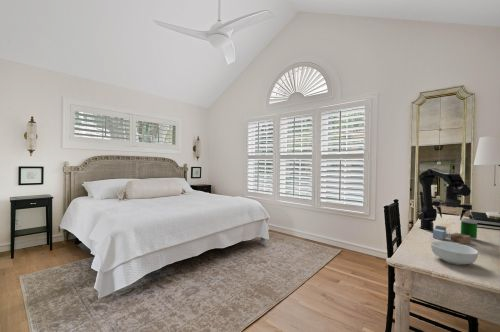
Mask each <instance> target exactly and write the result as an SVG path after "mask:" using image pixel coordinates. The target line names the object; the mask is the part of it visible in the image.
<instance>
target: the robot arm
mask: <svg viewBox="0 0 500 332" xmlns="http://www.w3.org/2000/svg"><path fill="white" fill-rule="evenodd" d="M437 177H438V178H440V179H442V181H444V182H445V183H444V184H443V186H445V200H444V202H442V201H441V200H436V199H435V200H433V195H432V184H433V183H434V179H435V178H437ZM418 182H419V184H420V185H421V186H422V199H423V200H422V201H423V207H422V208H421V212H420V214H419V215H418V216H417V217H418V220H420V226H419V229H422V230H427V231H433V230H434V226H435V225H434V222H436V220H437V216H438V213H439V216H440V218H441V219H442V218H443V212H442V207H443V206H445V207H446V208H447V207H449V208H454V209H455V208H461V213H460V217H459V218H460V219H459V221H461V220H462V219H463V218H464V217H463V216H464V215H465V214H466V212H469V211H473V205H472V204H470V203H462V204H461V201H462V199H459V196H462V197H467V196H470V195H471V192H472V190H471V188H470V187H469V186H468V184H465V181H464V180H463V178H462V177H461V174H459V173H451V172H446V171H443V170H440V169H438V168H427V170H425V171H423V172H421V173H420V174H419V175H418Z"/></svg>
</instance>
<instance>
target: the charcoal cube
mask: <svg viewBox="0 0 500 332" xmlns="http://www.w3.org/2000/svg"><path fill="white" fill-rule="evenodd" d="M434 229H440V230H444V231H446V232H447V227H446V226H443V225H442V226H441V225H435V228H434Z"/></svg>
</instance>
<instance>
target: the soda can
mask: <svg viewBox="0 0 500 332" xmlns="http://www.w3.org/2000/svg"><path fill="white" fill-rule="evenodd" d="M460 222H461V223H460V234H464V235H469V236H470V241H475V240H476V239H477V238H478V237H477V236H478V221H477V220H476V219H473V218H467V217H466V218H464V217H462V219H461V220H460Z"/></svg>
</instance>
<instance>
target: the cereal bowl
mask: <svg viewBox="0 0 500 332" xmlns="http://www.w3.org/2000/svg"><path fill="white" fill-rule="evenodd" d="M430 245H431V246H430V248H431V251H432V253H433V254H434V255H435V256H436V257H438V258H439V259H441V260H443V262H446V263H449V264H451V265H452V264H453V265H457V266H463V265H468V264H469V265H471V264H472V263H475V262H476V261H477V259H478V257H479V251H478V250H476V249H475V248H473V247H471V246H468V245H466V244H462V243H458V242H454V241H447V240H446V241H444V240H435V241H432V242H431V243H430Z"/></svg>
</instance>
